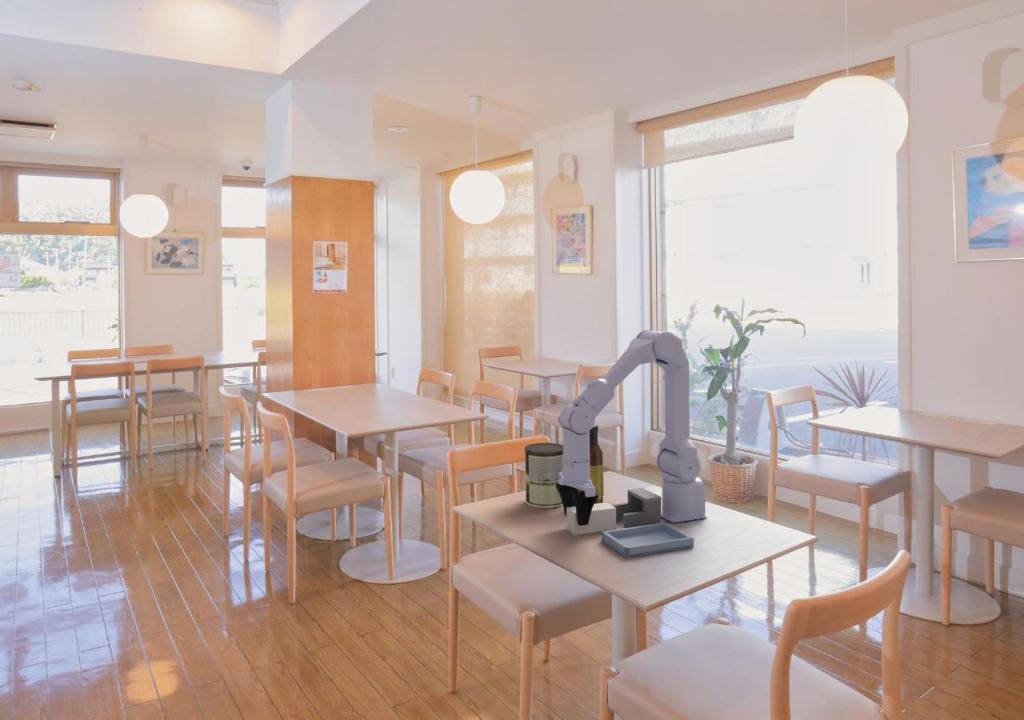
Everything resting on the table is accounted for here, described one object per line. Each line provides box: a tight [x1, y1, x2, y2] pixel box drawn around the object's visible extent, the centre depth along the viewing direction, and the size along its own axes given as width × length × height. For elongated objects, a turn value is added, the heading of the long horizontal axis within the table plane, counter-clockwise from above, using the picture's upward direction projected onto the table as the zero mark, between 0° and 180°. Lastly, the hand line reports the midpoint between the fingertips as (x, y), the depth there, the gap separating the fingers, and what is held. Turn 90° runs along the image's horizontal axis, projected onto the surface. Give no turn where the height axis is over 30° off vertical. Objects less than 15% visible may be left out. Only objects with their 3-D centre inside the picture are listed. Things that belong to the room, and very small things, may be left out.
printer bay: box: [611, 487, 662, 529], centre depth 163 cm, size 9×8×6 cm
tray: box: [601, 522, 695, 559], centre depth 150 cm, size 16×11×2 cm
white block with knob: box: [566, 502, 617, 536], centre depth 160 cm, size 10×4×6 cm, turn 110°
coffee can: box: [524, 442, 563, 509], centre depth 179 cm, size 10×10×14 cm
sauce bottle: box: [579, 423, 605, 504], centre depth 178 cm, size 6×6×20 cm
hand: (576, 520), depth 159 cm, fingers open, 6 cm apart
